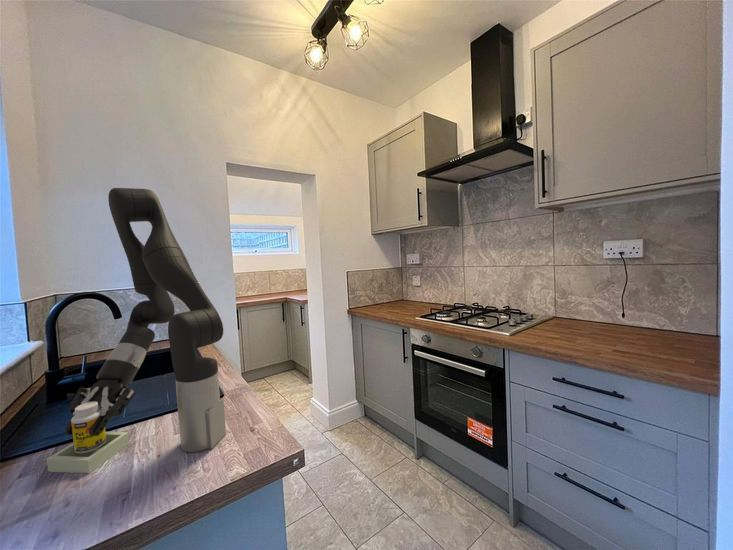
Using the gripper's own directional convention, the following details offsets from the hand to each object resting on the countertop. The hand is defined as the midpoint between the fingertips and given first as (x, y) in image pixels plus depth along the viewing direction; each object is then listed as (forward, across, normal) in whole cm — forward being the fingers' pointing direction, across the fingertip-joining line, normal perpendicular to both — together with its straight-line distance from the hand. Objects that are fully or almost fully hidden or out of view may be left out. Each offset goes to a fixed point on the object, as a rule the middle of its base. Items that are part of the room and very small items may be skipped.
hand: (81, 434), depth 68 cm
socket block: (+4, 0, +6) cm, 7 cm away
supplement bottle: (+2, 0, +4) cm, 5 cm away
